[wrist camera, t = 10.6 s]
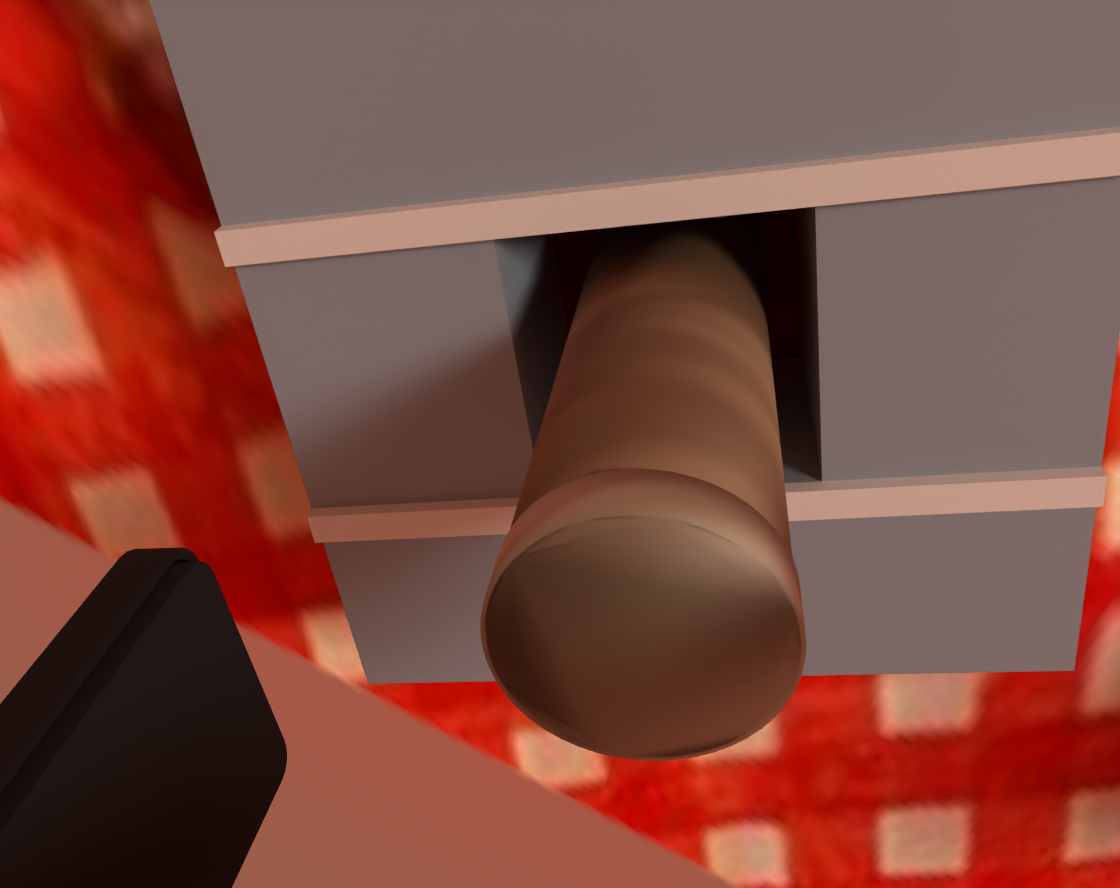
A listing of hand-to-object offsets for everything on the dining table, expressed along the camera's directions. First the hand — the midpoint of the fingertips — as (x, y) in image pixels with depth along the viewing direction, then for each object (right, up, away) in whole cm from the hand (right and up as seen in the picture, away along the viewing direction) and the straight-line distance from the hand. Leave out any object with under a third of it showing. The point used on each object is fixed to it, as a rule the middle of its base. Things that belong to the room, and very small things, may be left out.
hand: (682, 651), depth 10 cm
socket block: (+1, +6, +11) cm, 13 cm away
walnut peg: (+1, +6, +11) cm, 13 cm away
